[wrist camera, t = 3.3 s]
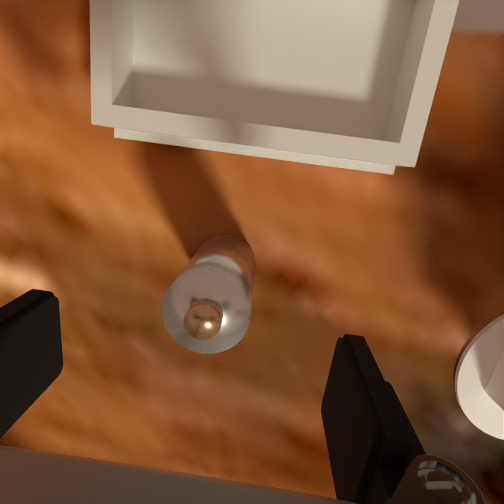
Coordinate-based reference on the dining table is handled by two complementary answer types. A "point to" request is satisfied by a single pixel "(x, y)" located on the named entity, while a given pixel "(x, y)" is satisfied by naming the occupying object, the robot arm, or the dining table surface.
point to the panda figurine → (483, 379)
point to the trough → (272, 76)
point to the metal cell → (212, 296)
